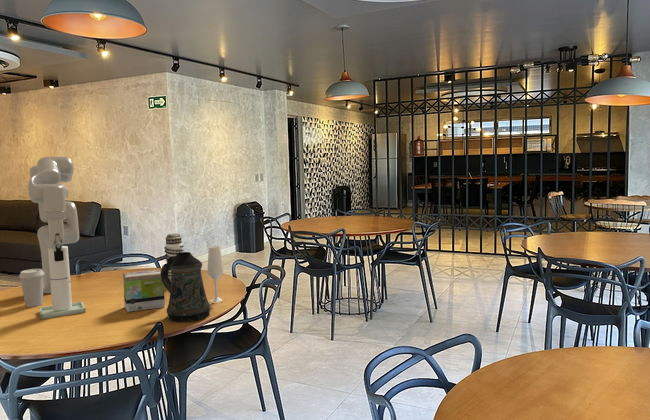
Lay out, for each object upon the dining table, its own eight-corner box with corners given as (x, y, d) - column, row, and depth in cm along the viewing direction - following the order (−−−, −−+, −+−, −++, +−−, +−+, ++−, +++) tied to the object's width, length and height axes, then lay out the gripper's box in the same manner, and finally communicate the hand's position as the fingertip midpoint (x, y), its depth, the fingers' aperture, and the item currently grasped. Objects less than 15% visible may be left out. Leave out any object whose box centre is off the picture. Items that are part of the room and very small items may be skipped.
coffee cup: (35, 308, 210) (32, 273, 208) (15, 307, 212) (12, 273, 210) (51, 302, 219) (49, 268, 218) (33, 301, 221) (30, 268, 220)
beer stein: (207, 321, 188) (204, 256, 186) (154, 324, 187) (150, 258, 184) (213, 308, 205) (210, 248, 202) (164, 311, 203) (161, 250, 201)
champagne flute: (220, 304, 211) (218, 248, 209) (206, 303, 213) (203, 247, 210) (227, 299, 218) (224, 245, 216) (212, 299, 219) (210, 245, 217)
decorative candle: (177, 280, 254) (175, 232, 252) (189, 283, 249) (187, 233, 246) (162, 284, 247) (159, 234, 244) (174, 287, 242) (171, 236, 239)
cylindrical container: (48, 309, 202) (43, 248, 200) (63, 304, 209) (59, 245, 206) (61, 311, 200) (56, 249, 197) (76, 306, 206) (71, 246, 204)
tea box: (127, 313, 201) (124, 277, 200) (124, 307, 210) (122, 272, 209) (165, 307, 208) (163, 272, 207) (161, 301, 217) (159, 268, 215)
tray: (39, 311, 205) (39, 307, 205) (82, 305, 213) (82, 301, 213) (40, 319, 195) (40, 314, 195) (85, 312, 203) (85, 308, 203)
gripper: (44, 214, 206) (47, 256, 208) (45, 218, 191) (48, 264, 193) (64, 213, 210) (67, 254, 212) (67, 217, 195) (70, 261, 197)
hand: (58, 258), depth 202 cm, fingers closed on cylindrical container, 7 cm apart
